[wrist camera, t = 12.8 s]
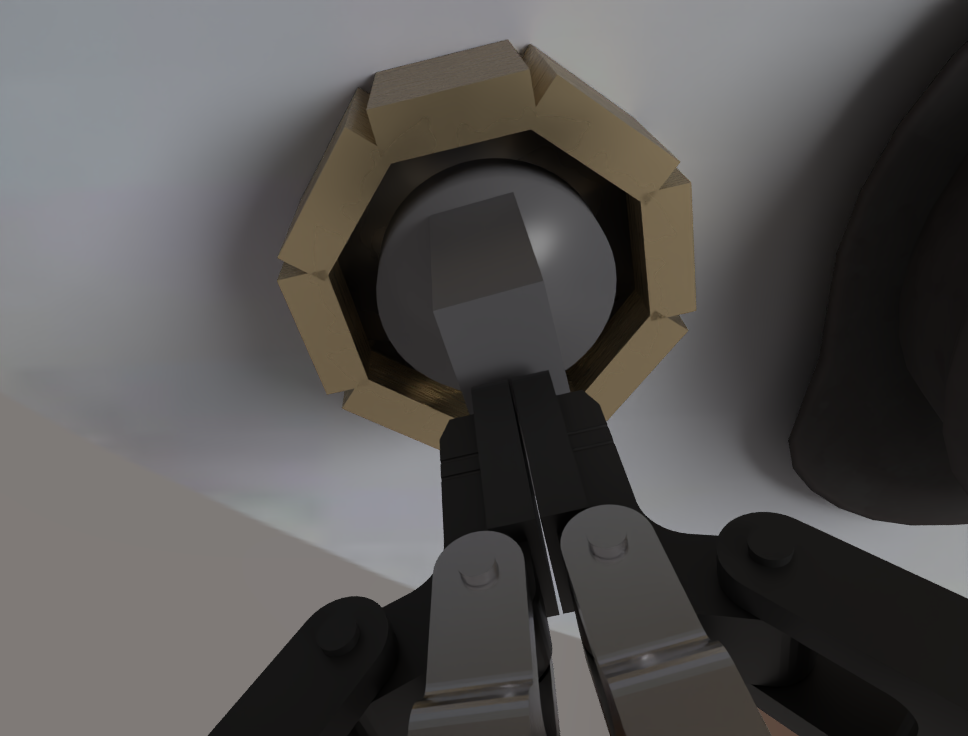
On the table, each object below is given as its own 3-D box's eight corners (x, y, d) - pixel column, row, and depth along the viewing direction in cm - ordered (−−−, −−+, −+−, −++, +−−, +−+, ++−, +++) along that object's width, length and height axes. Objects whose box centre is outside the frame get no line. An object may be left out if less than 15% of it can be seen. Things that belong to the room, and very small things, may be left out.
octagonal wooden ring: (633, 8, 17) (685, 30, 14) (658, 334, 23) (700, 406, 19) (255, 102, 18) (218, 146, 14) (372, 399, 23) (364, 480, 20)
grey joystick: (581, 127, 16) (654, 223, 11) (617, 332, 20) (685, 475, 15) (345, 196, 17) (313, 317, 12) (419, 385, 20) (419, 541, 15)
